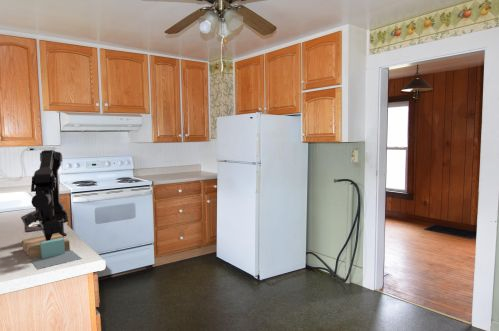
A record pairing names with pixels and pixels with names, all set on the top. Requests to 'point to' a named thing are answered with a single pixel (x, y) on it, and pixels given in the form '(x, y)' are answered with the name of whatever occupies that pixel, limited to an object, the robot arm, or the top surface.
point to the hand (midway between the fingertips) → (47, 241)
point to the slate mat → (55, 259)
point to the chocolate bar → (33, 227)
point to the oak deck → (33, 245)
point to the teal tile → (52, 248)
